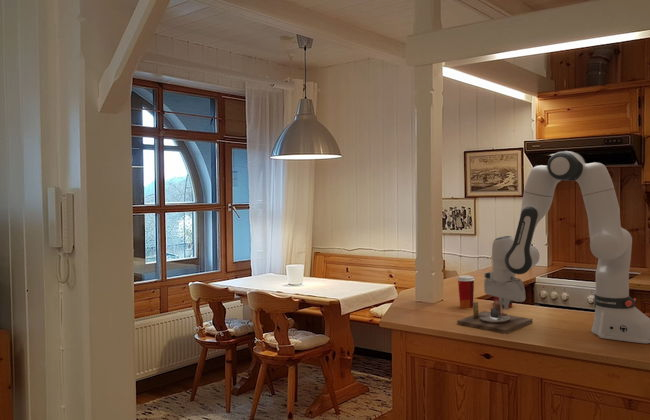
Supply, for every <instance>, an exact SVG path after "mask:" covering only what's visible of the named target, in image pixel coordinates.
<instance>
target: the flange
mask: <svg viewBox="0 0 650 420" xmlns="http://www.w3.org/2000/svg"><path fill="white" fill-rule="evenodd" d="M490 312H491V313H483V314H480V315H479V319H480V320H481V321H483V322H488V323H504V322H508V321H510V316H509V315H510V314H507V313H504V312H503V309H502V305H501V303H500V302H499V301H495V302H494V301H493V302H492V307H491V308H490Z"/></svg>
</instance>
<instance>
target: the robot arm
mask: <svg viewBox="0 0 650 420" xmlns="http://www.w3.org/2000/svg"><path fill="white" fill-rule="evenodd" d="M562 181H565V182H567V181H571V182H577V184H578V186H579V188H580V192H581V195H582V199H583V203H584V207H585V211H586V215H587V221H588V222H587V224H588V225H587V226H588V233H589V234H588V236H589V249H590V251H591V254H592V255H593V256H594V257H595V258H597V265H596V266H597V267H596V270H595V293H594V297H593V298H594V299H593V300H594V301H593V302H594V303H593V304H594V309H595V310H594V319H593V324H592V328H591V330H590V331H591V333H592V334H594V335H596V336H597V337H598V338H600V339H606V340H613V341H621V342H628V343H629V342H630V343H638V344H650V317H649V316H647V315H646V314H644V313H643V311H641V310H640V309H638V308H637V307H636V306H635V303H636V300H637V297H636V298H633V297H631V296H630V270H631V269H630V268H631V258H632V250H633V249H632V247H633V246H632V245H633V237H632V235H631V233H630V232H629V231H628V230H627V229H625V228H623V227H622V225H621V210H620V209H621V208H620V205H619V202H618V197H617V193H616V190H615V186H614V183H613V180H612V177H611V175H610V173H609V171H608V169H607V167H606V166H605V164H603V163H601V162H596V161H594V162H589V163H587V162H586V160H585V158H584V157H583V155H582V154H580V153H578V152H574V151H570V150H569V151H568V150H564V151H558V152H555V153H554V154H552V155H551V157H550V158H549V159H548V161H547V164H546V165H543V164H540V165H535V166H534V167H532V168H531V170H530V172H529V174H528V177H527V180H526V183H525V185H524V190H523V196H522V201H521V209H520V216H519V220H518V224H517V228H516V230H515V231H516V232H515V234H514V237H513V236H510V235H505V236H501V237H500V236H499V237H496V238H495V239H494V240H493V241H492V247H491V249H492V250H491V260H492V263H493V264H492V271H487V272H484V274H483V278H484V280H483V286H484V287H483V288H484V289H483V290H484V293H485V294H486V295H488V296H492V297H494V296H495V297H499V301H500V303H501V305H502V310H509V308H508V305H509V303H510V300H512V302H516V303H521V302H525V300H526V298H527V297H526V290H525V289H526V288H525V286H524V282H523V280H522V279H521V278H518V277H516V275H524V274H526V273H527V272H528V271H530V269H532V268H533V267H535V266H536V265H537V264H538V263H539V261H540V253H539V251H538V249H537V247H535V246H534V245H532V241H533V237H534V234H535V231H536V227H537V226H538V224H539V223H540V222H541V220H543V218H545V216H546V215H547V214H548V213H549V210H550V209H551V207H552V203H553V199H554V195H555V191H556V187H557V185H558V183H559V182H562Z"/></svg>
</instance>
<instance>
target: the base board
mask: <svg viewBox="0 0 650 420" xmlns="http://www.w3.org/2000/svg"><path fill="white" fill-rule="evenodd" d="M472 311H473V312H472V313H473V314H472V315H469V316H466V317H463V318H461V319H458V320H457V321H456V322H457V324H456V325H460V326H466V327H470V328H475V329H480V330H484V331H490V332H494V333H500V334H505V335H507V334H509V333H513V331H516V330H519V329H521V328H523V327H526V326H529V325H531V324H532V323H533V318H528V317H524V316H516V315H511V314H508V315H509V316H510V321H508V322H504V323H488V322H483V321H481V320H480V319H479V315H480V314H483V313H491V311H487V310H483V311H479V302H478V301H473V310H472Z"/></svg>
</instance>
